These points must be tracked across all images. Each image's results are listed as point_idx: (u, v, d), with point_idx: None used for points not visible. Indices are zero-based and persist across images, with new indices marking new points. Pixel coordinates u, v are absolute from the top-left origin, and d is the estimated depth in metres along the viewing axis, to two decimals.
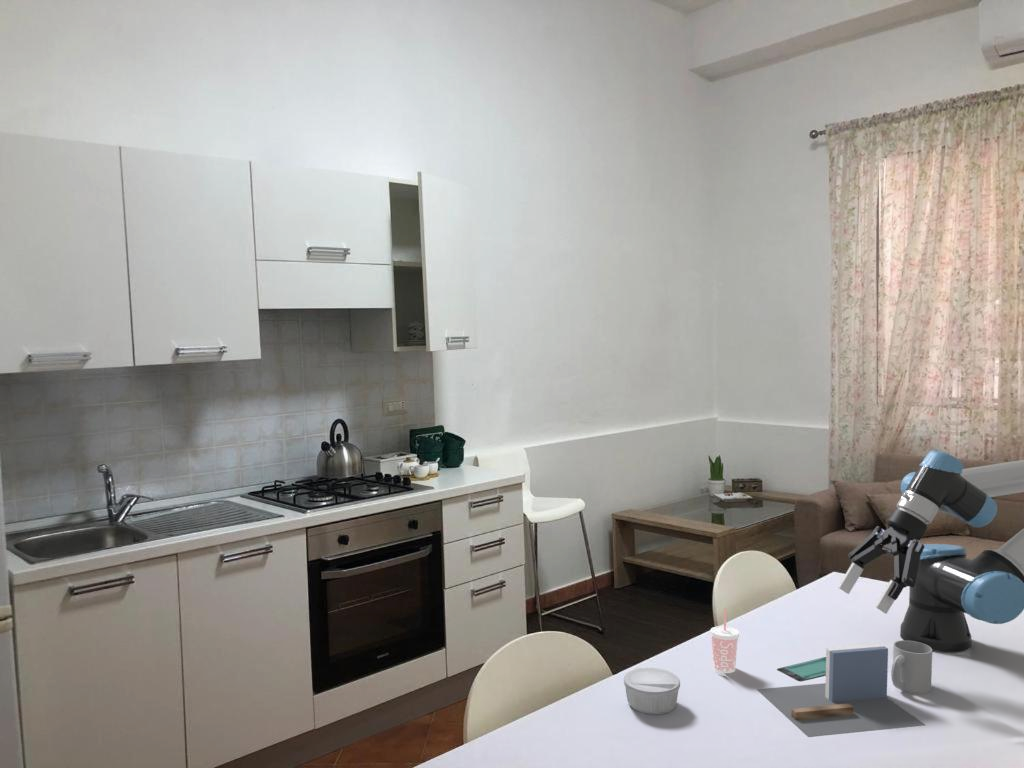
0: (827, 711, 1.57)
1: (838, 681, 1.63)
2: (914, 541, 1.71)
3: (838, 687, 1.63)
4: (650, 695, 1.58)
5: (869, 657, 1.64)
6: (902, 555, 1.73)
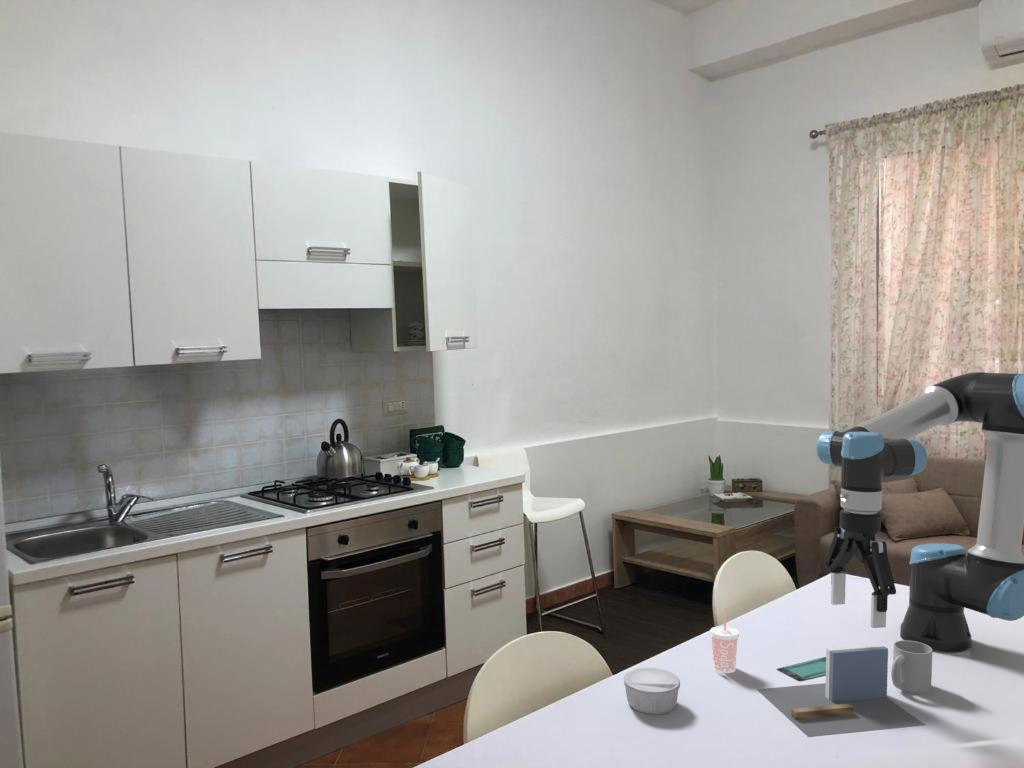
0: (827, 711, 1.57)
1: (838, 681, 1.63)
2: (873, 544, 1.57)
3: (838, 687, 1.63)
4: (650, 695, 1.58)
5: (869, 657, 1.64)
6: (871, 558, 1.59)
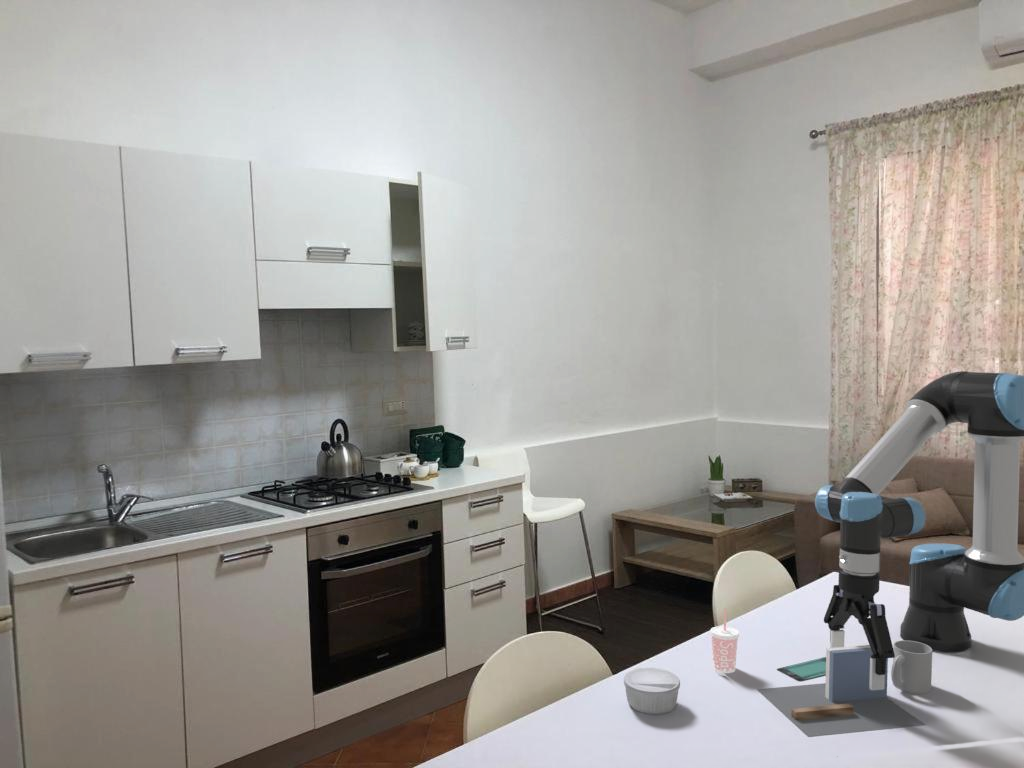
0: (827, 711, 1.57)
1: (838, 681, 1.63)
2: (872, 607, 1.57)
3: (838, 687, 1.63)
4: (650, 694, 1.58)
5: (869, 657, 1.64)
6: (869, 620, 1.60)
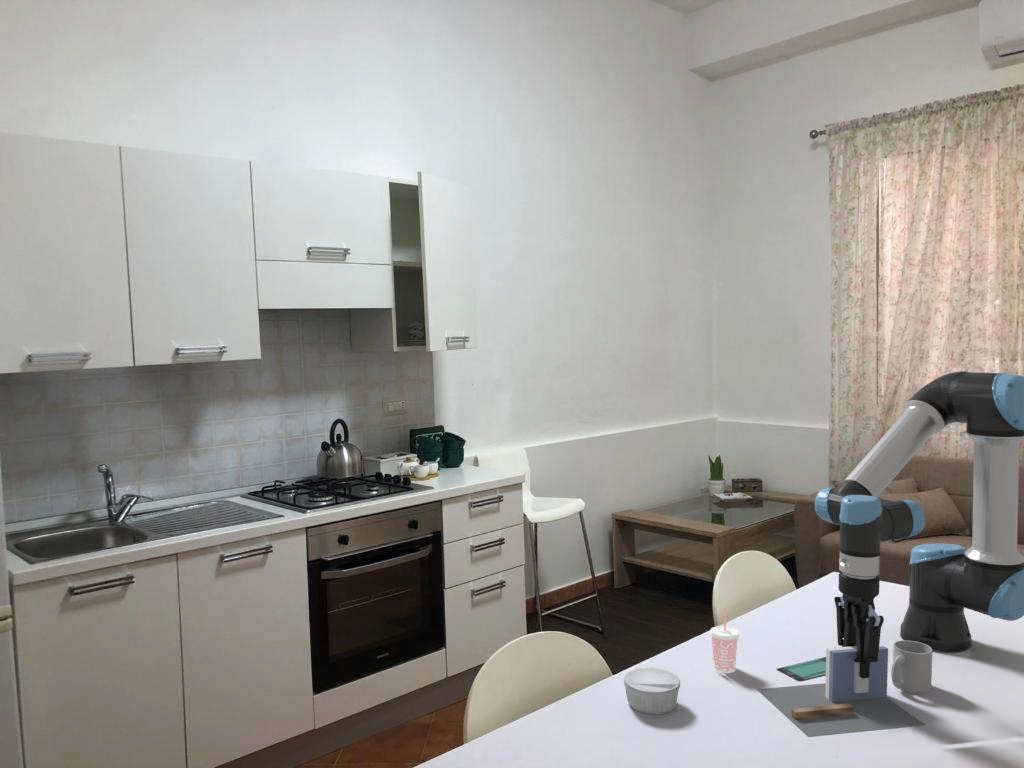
0: (827, 711, 1.57)
1: (838, 681, 1.63)
2: (871, 620, 1.58)
3: (838, 687, 1.63)
4: (650, 695, 1.58)
5: None
6: (864, 626, 1.62)
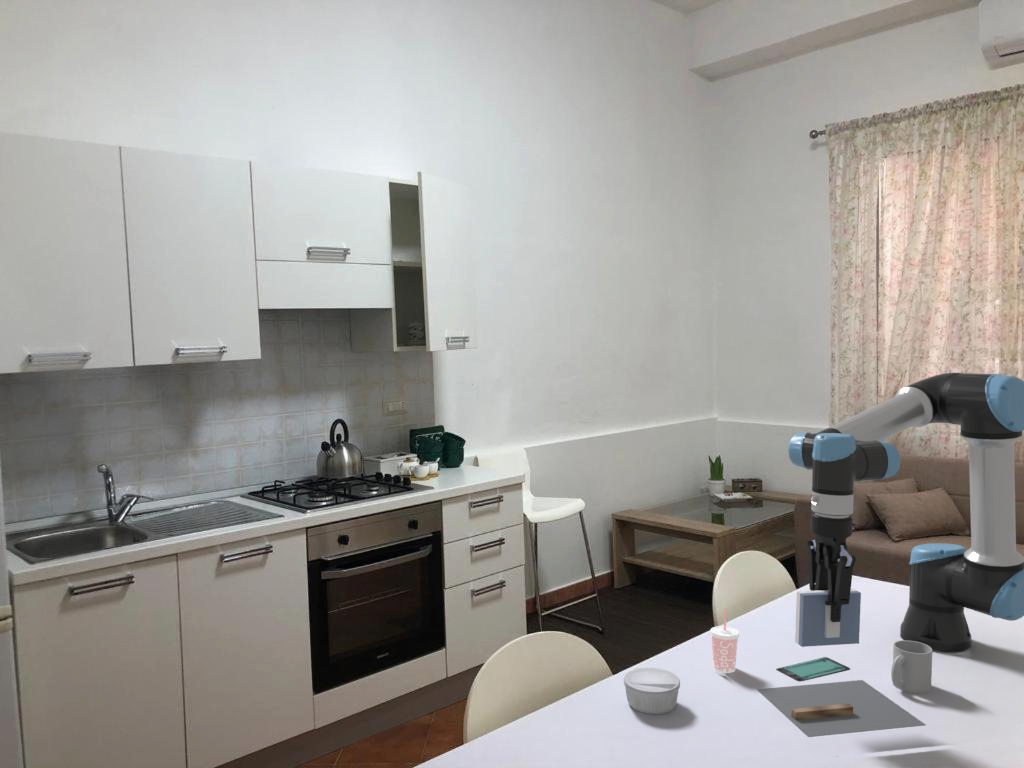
0: (827, 711, 1.57)
1: (808, 625, 1.57)
2: (842, 559, 1.52)
3: (808, 632, 1.57)
4: (650, 694, 1.58)
5: None
6: (836, 567, 1.56)
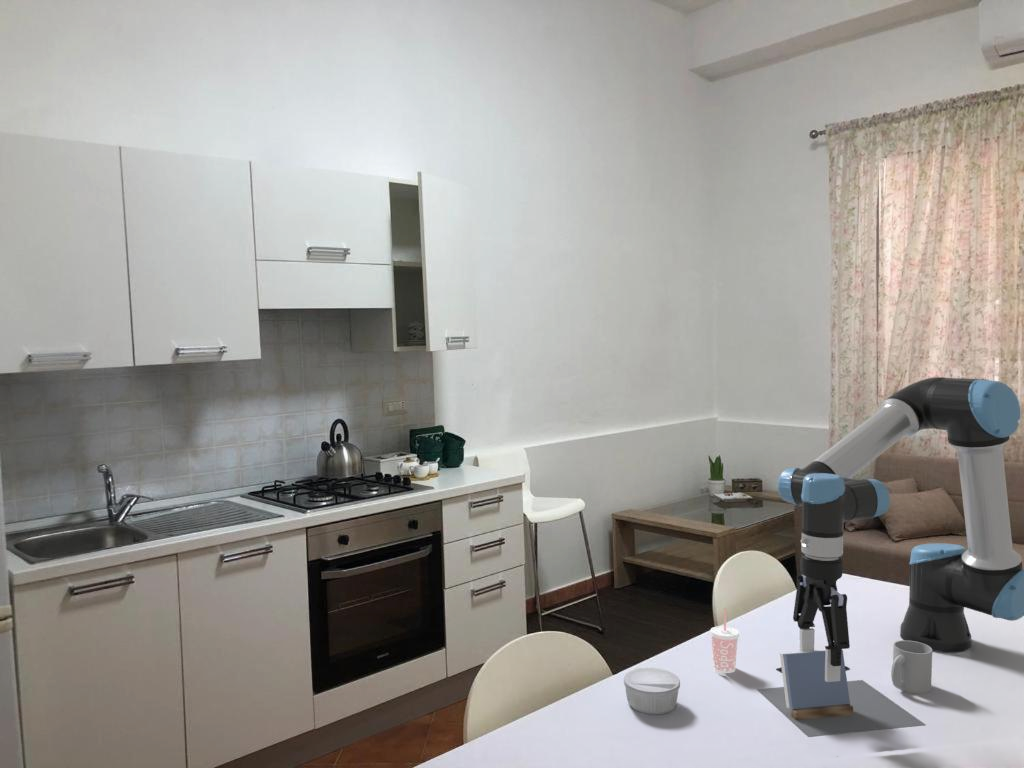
0: (827, 711, 1.57)
1: (796, 685, 1.58)
2: (834, 598, 1.51)
3: (796, 693, 1.57)
4: (650, 695, 1.58)
5: (824, 659, 1.60)
6: (830, 609, 1.54)
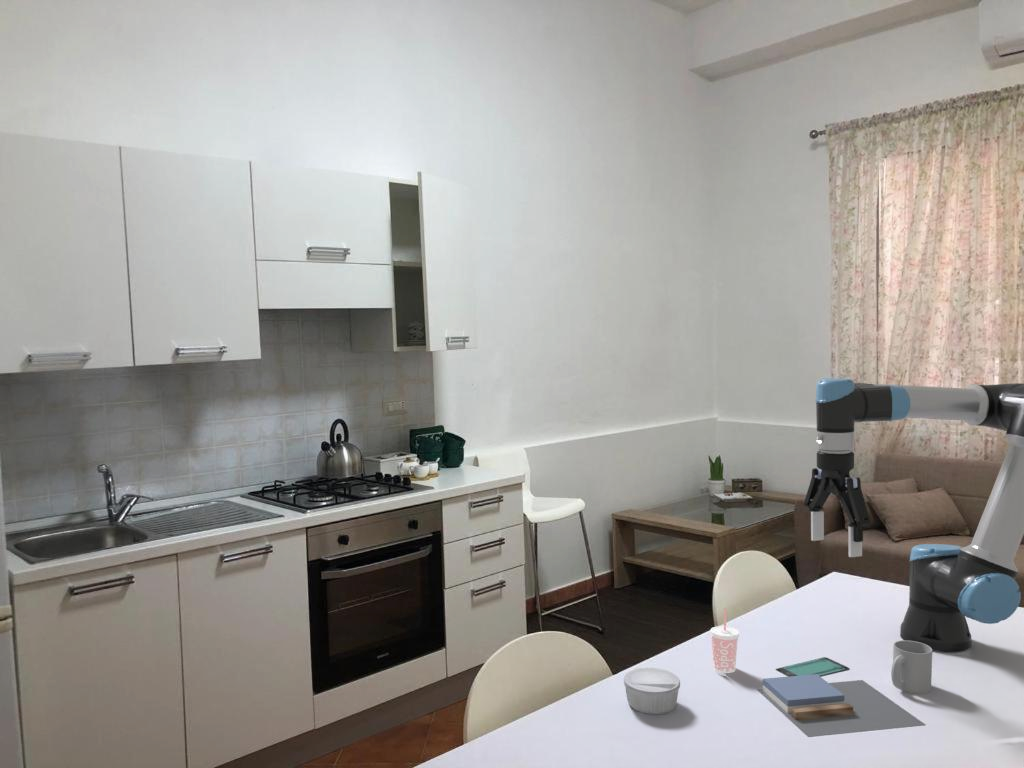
0: (827, 711, 1.57)
1: (783, 690, 1.63)
2: (848, 480, 1.70)
3: (786, 693, 1.61)
4: (650, 695, 1.58)
5: (802, 678, 1.68)
6: (846, 494, 1.73)
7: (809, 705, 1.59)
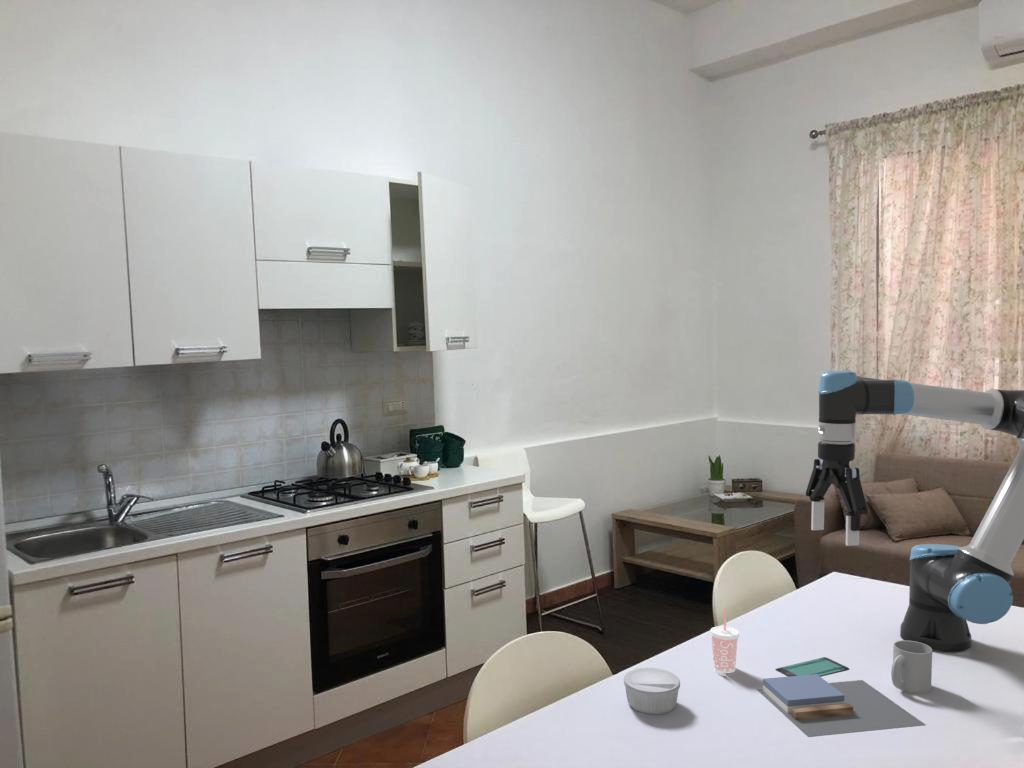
0: (827, 711, 1.57)
1: (783, 690, 1.63)
2: (847, 470, 1.73)
3: (786, 693, 1.61)
4: (650, 695, 1.58)
5: (802, 678, 1.68)
6: (846, 484, 1.76)
7: (809, 705, 1.59)
